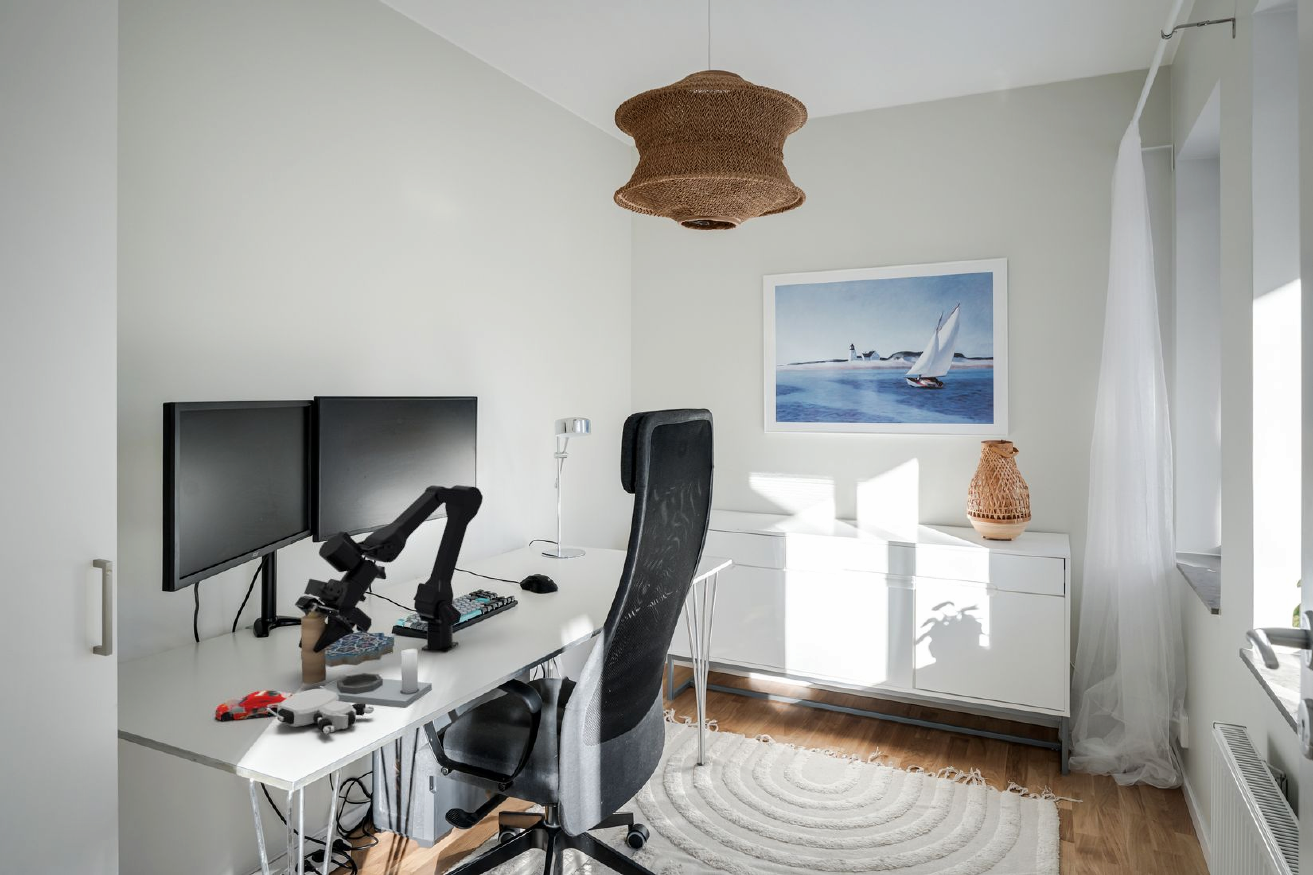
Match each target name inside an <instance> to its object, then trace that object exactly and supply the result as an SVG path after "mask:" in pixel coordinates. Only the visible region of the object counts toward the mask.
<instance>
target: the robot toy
mask: <svg viewBox="0 0 1313 875" xmlns="http://www.w3.org/2000/svg"><path fill="white" fill-rule="evenodd" d="M366 705H367V704H366V703H356V702H355V703H353V704H351V702H346V701H339V696H338V695H337V693H335V692H332V691H328V690H326V689H325V688H323V685H320V686H319V688H313V689H307V690H304V691H301V692H298V693H295V694H292V696H291V697H289V698H287V699H285V700H284V701H283V702H281V703H280V704H279V705H278V709H277V714H276V713H275V712H273V711H272V710H270V708H266V709H267V711H269V712H271V713H272V714H274V715H275V716H274V717H276V719H277V720H278V721H279V722H280V723H283V724H287V725H289V726H290V727H293V728H298V727H302V726H307V725H311V724H315V723H316V724H317V728H318V730H319V731H320V732H321V733H323V734H328V733H332V732H333V733H334V732H336V731H339V730H341V729H342V730H345V729H347V728H348V727H350V726H353V725H355V724H356V721H357V720H356V716H364V715H365V714H367V715H368V714H372V713H373V712H374V711H375V708H374V707H373V706H370V705H369V706H366Z"/></svg>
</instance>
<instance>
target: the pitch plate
mask: <svg viewBox="0 0 1313 875" xmlns="http://www.w3.org/2000/svg"><path fill="white" fill-rule="evenodd" d="M400 652H401V653H400V654H401V679H391V678H390V679H388V678H382V676H381V675H380V674H378V673H367V672H366V673H365V672H364V673H358V674H351V675H347V674H344V675H342V676H340V677H338V678H336V679H335V680H333V681H331V682H329V683H327V684H325V685H324V686H323V685H322V687H323V688H325V689H326V690H328V691H332V692H335V693H337V695H338V696H339V701H341V702H346V703H355V704H356V703H359V704H366V705H367V704H368V705H379V706H386V707H395V708H396V707H397V708H407V707H408V706H411V704H413V703H414V702H416V701H417V700H419V698H421V697H422V696H424V695H426V694H427V693H428V692H430V691H431V690H432V689H433V688H432V686H433V685H432V684H433V683H431V682H421V681H419V678H418V662H419V661H418V649H417V648H406V649H403V650H401V651H400Z"/></svg>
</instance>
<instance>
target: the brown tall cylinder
mask: <svg viewBox="0 0 1313 875" xmlns="http://www.w3.org/2000/svg"><path fill="white" fill-rule="evenodd" d="M300 622H301V623H300V624H301V627H300V629H301V630H300V631H301V637H302V649H301V650H302V659H301V679H302V681H301V682H302V683H303V684H304V685H305V684H306V685H313V684H320V683H323V682H324V681H326V679H327V670H326V669H327V665H326V655H325V648H324V649H323V650H321V651H320V652H318V653H315V652H314V651H313V648H314V646H315V644H316V643H317V641H318V639H319V638H320V636H321V635H322V633H323V631H324V630H325V622H326V619H325V615H323V614H318V613H317V612H316V611H311V612H310V613H309V614H308V615H303V616H301V618H300ZM301 637H300V638H301Z"/></svg>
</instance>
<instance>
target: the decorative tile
mask: <svg viewBox="0 0 1313 875" xmlns="http://www.w3.org/2000/svg"><path fill="white" fill-rule="evenodd" d="M394 646H395V637H393V636H385V632H373V633H372V632H371V633H370V632H368V631H367V633H364V632H360V631H357V632H354V633H353V634H352V633H350V634H348V635H347V636H345V637H343V638H341V639H339V640H337V641H336V642H334V643H332V644H331V645H329V646H328V647H326V648H325V655H326V667H327V666H328V667H329V668H332V667H333V668H334V667H337V666H342V665H351V666H358V665H360V664H361V663H363V662H367V661H379V660H380V659H381V658H382V656H384V655H385V656H386V655H388V653H389V654H392V653H391V652H393V653H394ZM300 660H302V649H301V650H300Z"/></svg>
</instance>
